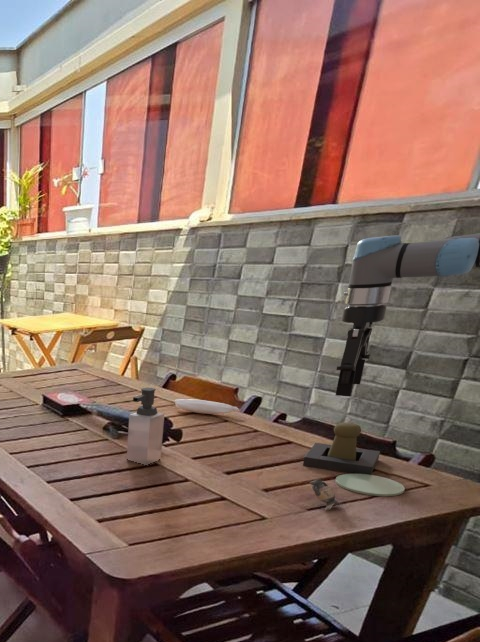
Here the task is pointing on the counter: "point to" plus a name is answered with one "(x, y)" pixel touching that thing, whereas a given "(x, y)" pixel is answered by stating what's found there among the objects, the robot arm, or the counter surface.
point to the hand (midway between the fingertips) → (348, 389)
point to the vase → (324, 493)
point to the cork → (345, 441)
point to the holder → (341, 460)
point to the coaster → (369, 484)
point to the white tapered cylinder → (204, 406)
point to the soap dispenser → (145, 430)
